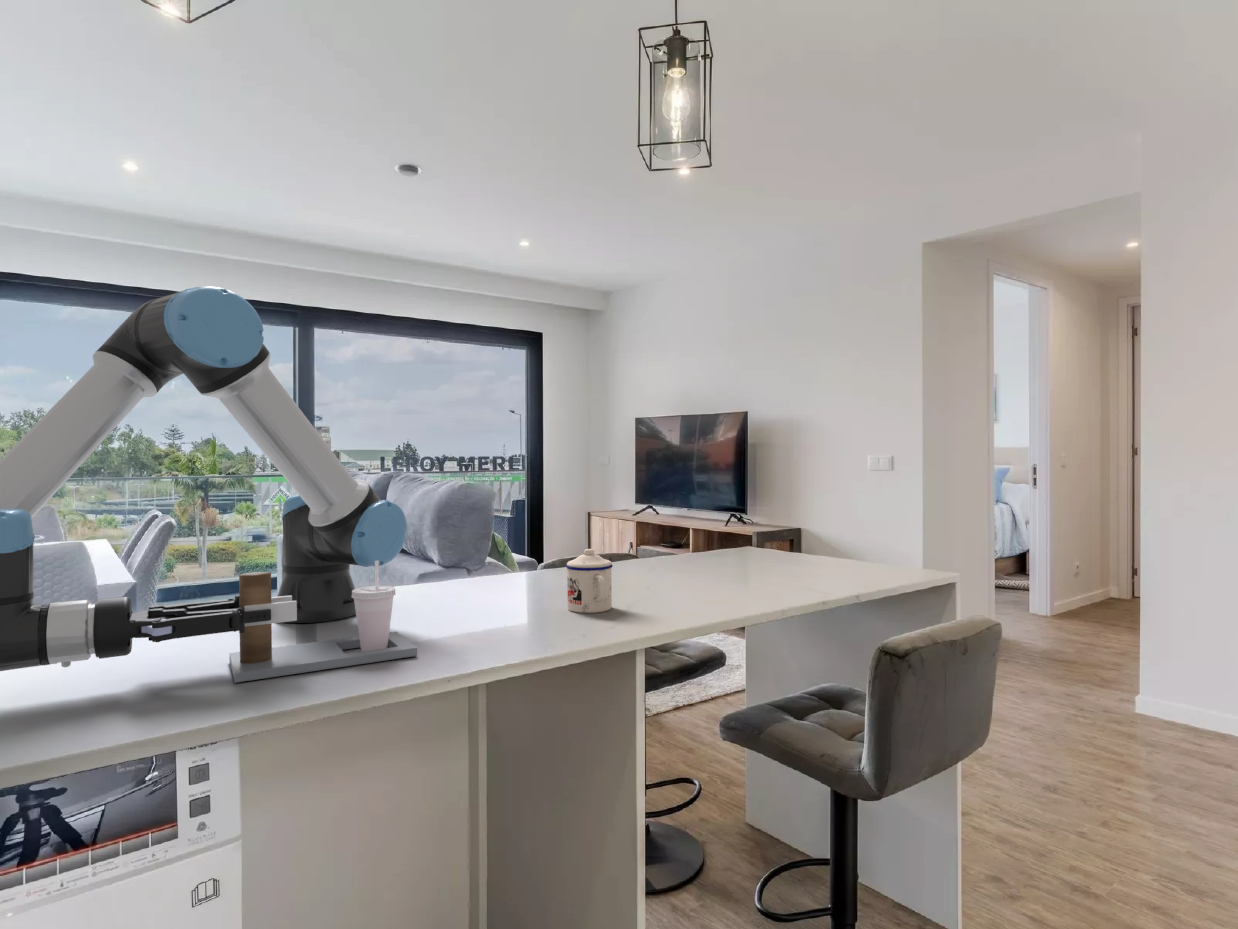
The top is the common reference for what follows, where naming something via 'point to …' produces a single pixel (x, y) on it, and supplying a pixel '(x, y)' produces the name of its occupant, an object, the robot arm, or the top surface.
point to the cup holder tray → (299, 658)
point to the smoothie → (373, 613)
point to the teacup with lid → (589, 583)
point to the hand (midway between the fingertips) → (293, 607)
